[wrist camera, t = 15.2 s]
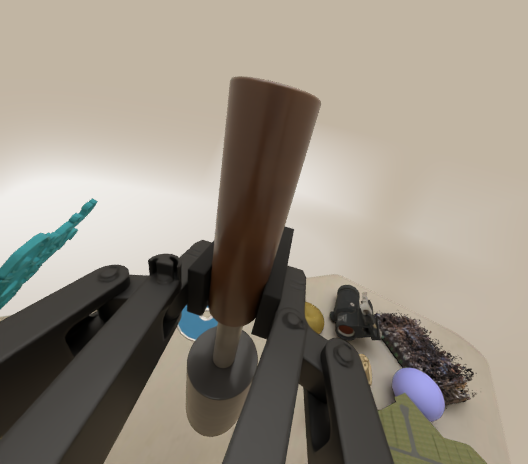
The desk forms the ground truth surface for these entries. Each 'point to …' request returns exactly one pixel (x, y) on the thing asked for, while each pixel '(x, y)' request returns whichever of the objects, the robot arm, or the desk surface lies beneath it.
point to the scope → (354, 315)
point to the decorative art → (36, 255)
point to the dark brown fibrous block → (423, 355)
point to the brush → (246, 239)
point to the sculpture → (314, 317)
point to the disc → (194, 324)
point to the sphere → (420, 391)
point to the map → (420, 437)
